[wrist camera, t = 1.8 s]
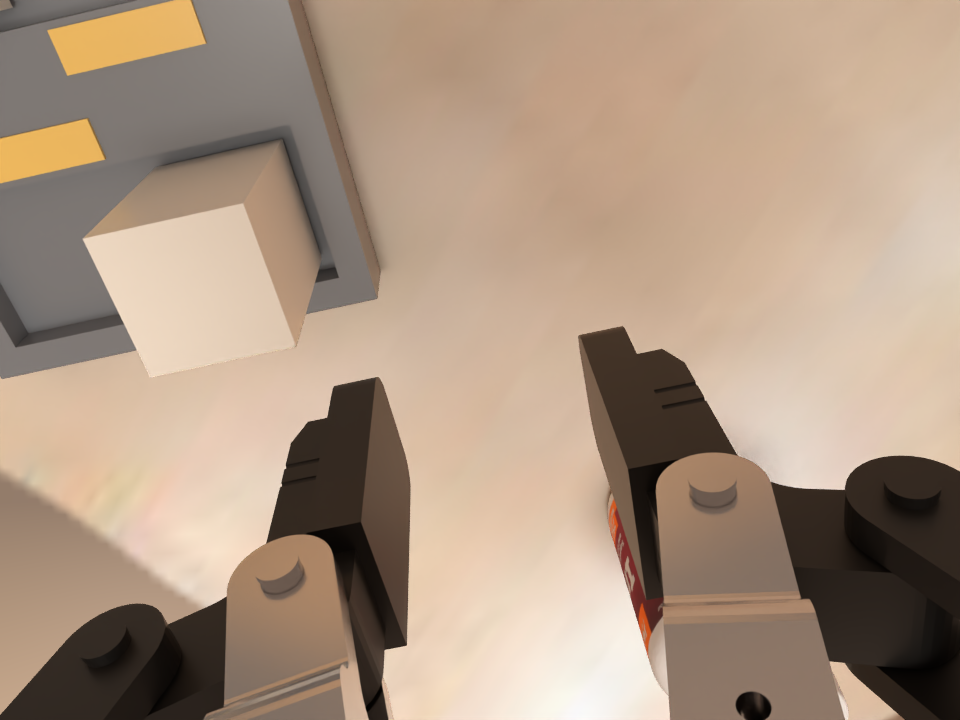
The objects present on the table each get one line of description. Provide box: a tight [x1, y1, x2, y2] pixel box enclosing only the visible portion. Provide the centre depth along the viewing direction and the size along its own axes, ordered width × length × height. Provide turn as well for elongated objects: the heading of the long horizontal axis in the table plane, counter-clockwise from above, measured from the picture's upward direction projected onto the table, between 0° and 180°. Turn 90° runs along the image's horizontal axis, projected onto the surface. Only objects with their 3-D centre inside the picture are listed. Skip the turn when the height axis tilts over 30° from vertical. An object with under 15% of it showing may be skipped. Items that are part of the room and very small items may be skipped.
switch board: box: [0, 0, 381, 379], centre depth 23 cm, size 13×16×2 cm
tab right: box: [83, 139, 322, 378], centre depth 23 cm, size 4×4×6 cm
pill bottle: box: [607, 493, 849, 720], centre depth 29 cm, size 6×6×11 cm
